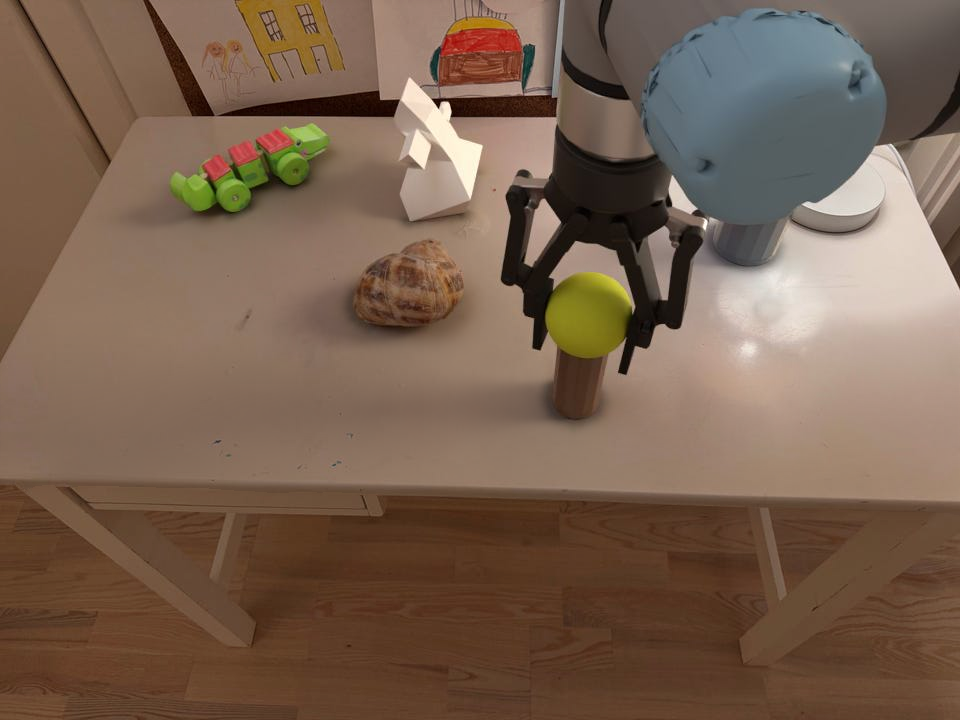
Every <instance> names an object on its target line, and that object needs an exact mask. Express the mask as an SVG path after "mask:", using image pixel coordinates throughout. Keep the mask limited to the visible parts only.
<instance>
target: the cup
mask: <svg viewBox="0 0 960 720" xmlns="http://www.w3.org/2000/svg"><path fill="white" fill-rule="evenodd" d="M797 209H798V206H797V207H796V208H795V209H794V210H793V211H792V212H791V213H790V215H789V216H787V217H786V218H784V219H780V220H777V221H773V222H769V223H763V224H754V225H739V224H730V223H725V222H722V221H719V220H717V223H716V225H715V229H714V233H713V236H712V243H713V246H714V248H715V249H716V250H715V251H717V253H718V254H719V255H720V256H721V257H722V258H724V259H726V260H728V261H729V262H730V263H733V264H736V265H740V266H746V267H754V266H755V267H756V266H760V265H763V264H766V263H768V262H769V261H770V260H771V259H773V257H774V256H775V254H776V252H777V251H778V250H779V247H780V245H781V243H782V240H783V239H784V237H785V235H786V232H787V230H788V228H789V225H790V223H791V222H792V219H793V217H794V214H795V213H796V210H797Z"/></svg>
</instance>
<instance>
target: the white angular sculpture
mask: <svg viewBox="0 0 960 720" xmlns="http://www.w3.org/2000/svg"><path fill="white" fill-rule="evenodd" d="M451 116H452V109H451V105H450V103H449V101H441V102H440V105H439V108H438V106H437V105H436V103H435V102H434V101H433V99H432V98H430V97H429V95H428V94H427V93H426V92H425V91H424V90H422V88H421V87H420V86H419V85H418V84H417V83H416V82H415V81H414V80H413V79H412V78H411V77H410V76H408V78H407V81H406V83H405V86H404V88H403V91H402V93H401V96H400V99H399V102H398V105H397V107H396V110H395V113H394V116H393V123H394V125H395V127H396V129H397V130H398V131H399V132H400V133H401V135H402V136H403V138H404V143H403V146H402V149H401V152H400V155H399V158H398V161H397V163H399V164H401V165H402V166H404V167H406V168H407V170H406V172H405V174H404V179H403V181H402V185H401V189H400V191H399V197H400V199H401V202H402V204H403V206H404V209H405V212H406V215H407V218H408V219H409V222H416V221H423V220H429V219H435V218H441V217H447V216H453V215H459V214H464V213H466V212H467V211H466V210H467V209H468V206H469V205H470V202H471V198H472V195H473V191H474V186H475V181H476V177H477V173H478V170H479V164H480V160H481V155H482V152H483V147H484V145H482V144H480V143H476V142H474V141H470V140H467V139H463V138H461V137H459V136H458V134H457V132H456V130H455V129H454V127H453V125H452V124H451V122H450V120H451Z"/></svg>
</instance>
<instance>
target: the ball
mask: <svg viewBox="0 0 960 720" xmlns="http://www.w3.org/2000/svg"><path fill="white" fill-rule="evenodd" d="M632 315H633V306H632V302H631V299H630V297H629V295H628V293H627V291H626V290H625V288H624V287H623V286H622V285H621V283H619V282H618V281H617V280H615V279H614V278H613V277H611V276H609V275H607V274H604V273H601V272H595V271H582V272H578V273H574V274H572V275H569V276H568V277H566V278H564V279H563V280H562V281H560V282H559V283H558V284H557V285H556V286H555V287H554V288H553V292H552V293H551V295H550V297H549V299H548V302H547V305H546V310H545V321H546V326H547V329H548V334H549V336H550V337H551V340H552V341H553V342H554V344H555V345H556V347H557V346H558V347H560V348H561V349H562V350H563V351H565V352H566V353H568V354H570V355H573V356H576V357H580V358H597V357H601V356H604V355H607V354H608V355H610V354H611V353H612V352H614V351H616V349H618V348H619V347H620V346H621V345H622V344H623V342H624V341H626V337H627V332H628V328H629V325H630V321H631V318H632Z"/></svg>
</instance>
